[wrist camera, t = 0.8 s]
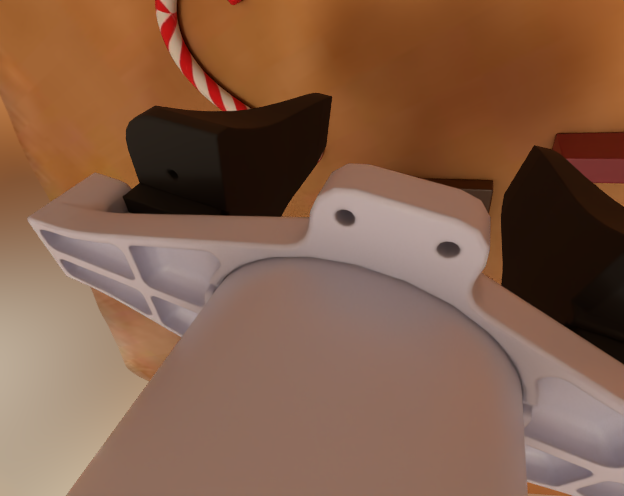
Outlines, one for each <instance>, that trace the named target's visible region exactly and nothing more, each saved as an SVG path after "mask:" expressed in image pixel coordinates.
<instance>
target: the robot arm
mask: <svg viewBox="0 0 624 496" xmlns="http://www.w3.org/2000/svg"><path fill="white" fill-rule="evenodd" d="M331 102H332V96H328V95H324V94H320V93H311V94H307V95H304V96H300V97H297V98H293V99H290V100H287V101H284V102H280V103H276V104H272V105H268V106H264V107H259V108H253V109H246V110H237V111H193V110H183V109H175V108H168V107H161V106H154V107H152V108H150V109H149V110H147V111H145V112H143V113H142V114H140V115H138V116H137V117H135V118H134V119H133V120H131V121H130V122H129V124H128V126H127V129H126V142H127V146H128V150H129V153H130V156H131V159H132V162H133V165H134V168H135V171H136V174H137V177H138V179H139V182H140V183H139V184H138V185H137V186H135V187H134V188H133V189H131V188H130V187H129V186H128V185H127V184H126V183H124V182H122V181H120V180H117V179H114V178H111V177H108V176H105V175H102V174H99V173H93V174H92V175H90V176H89V177H87V178H86V179H84V180H83V181H81V182H80V183H78V184H77V185H75V186H74V187H72V188H71V189H69V190H68V191H66V192H65V193H63V194H62V195H60V196H59V197H57V198H56V199H54V200H53V201H51V202H50V203H48V204H47V205H45V206H44V207H42V208H41V209H39V210H38V211H36V212H35V213H33V214H32V215H30V216H29V217H28V222H29V223H30V225H31V226H32V228H33V229H34V231H35V232H36V233H37V235H38V236H39V238H40V239H41V240H42V242H43V243H44V245H45V246H46V248H47V249H48V250H49V252H50V253H51V255H52V256H53V258H54V259H55V260H56V262H57V263H58V265H59V266H60V268H61V269H62V270H63V272H64V273H65V275H66V276H68V277H70V278H72V279H75V280H77V281H79V282H81V283H83V284H86V285H88V286H90V287H92V288H94V289H96V290H98V291H100V292H102V293H104V294H106V295H108V296H110V297H112V298H114V299H116V300H118V301H119V302H121V303H123V304H125V305H127V306H128V307H130V308H132V309H134V310H136V311H137V312H139V313H141V314H142V315H144V316H146V317H148V318H149V319H151V320H153V321H154V322H156V323H158V324H160V325H161V326H163V327H165V328H166V329H168V330H170V331H172V332H173V333H175V334H177V335H178V336H180V337H181V339H180V340H179V341H178V343H177V344H176V346H175V347H174V348H173V350H172V351H171V352H170V354H169V355H168V357H167V358H166V359H165V361H164V362H163V363H162V365H161V366H160V367H159V369H158V370H157V372H156V373H155V374H154V376H153V377H152V378H151V380H150V381H149V383H148V384H147V385H146V387H145V388H144V389H143V391H142V392H141V394H140V395H139V396H138V398H137V399H136V400H135V402H134V403H133V405H132V406H131V407H130V409H129V410H128V412H127V413H126V414H125V415H124V417H123V418H122V420H121V421H120V422H119V424H118V425H117V427H116V428H115V429H114V431H113V432H112V433H111V435H110V436H109V438H108V439H107V440H106V442H105V443H104V444H103V446H102V447H101V449H100V450H99V451H98V453H97V454H96V455H95V457H94V458H93V460H92V461H91V462H90V463H89V465H88V466H87V468H86V469H85V470H84V472H83V473H82V474H81V476H80V477H79V479H78V480H77V481H76V483H75V484H74V485H73V487H72V488H71V490H70V491H69V493H68V494H67V495H66V496H528V494H527V482H530V483H533V484H536V485H540V486H543V487H547V488H550V489H553V490H557V491H560V492H563V493H567V494H570V495H573V496H624V207H623V206H622V205H620V204H619V203H617V202H616V201H615V200H613V199H612V198H611V197H609V196H608V195H607V194H605V193H604V192H603V191H602V190H600V189H599V188H598V187H597V186H596V185H594V184H593V183H592V182H591V181H590V180H589V179H588V178H586V177H585V176H584V175H583V174H582V173H581V172H580V171H579V170H578V169H577V168H575V167H574V166H573V165H572V164H571V163H570V162H569V161H568V160H567V159H565V158H564V157H563V156H562V155H561V154H559V153H558V152H556V151H554V150H551V149H547V148H543V147H539V146H535V145H534V147H533V148H532V150H531V151H530V153H529V155H528V156H527V158H526V160H525V161H524V163H523V164H522V166H521V168H520V169H519V171H518V173H517V174H516V176H515V178H514V179H513V181H512V182H511V184H510V186H509V187H508V189H507V191H506V192H505V194H504V199H503V205H502V212H501V233H502V256H503V274H502V283H501V285H500V284H498V283H497V282H495V281H493V280H492V279H490V278H489V277H487V276H486V275H484V274H483V273H481V272H482V270H483V269H484V268H485V266H486V263H487V258H488V254H489V250H490V216H489V214H488V212H487V210H486V208H485V206H484V205H483V203H482V201H481V200H479V199H477V198H476V197H474V196H472V195H470V194H468V193H466V192H465V191H463V190H461V189H457V188H453V187H450V186H446V185H443V184H439V183H435V182H432V181H428V180H424V179H421V178H417V177H414V176H410V175H406V174H403V173H399V172H395V171H392V170H388V169H384V168H381V167H377V166H374V165H370V164H346V165H344V166H343V167H341V168H339V169H337V170H335V171H333V172H332V173H331V175H330V177H329V178H328V180H327V181H326V183H325V185H324V186H323V188H322V190H321V191H320V193H319V194H318V196H317V198H316V200H315V202H314V204H313V206H312V209H311V211H310V217H281V216H282V214H283V212H284V210H285V208H286V207H287V205H288V203H289V202H290V200H291V199H292V197H293V196H294V195H295V193H296V192H297V190H298V189H299V188H300V186H301V185H302V184H303V182H304V181H305V180H306V178H307V177H308V176H309V174H310V173H311V171H312V170H313V169H314V167H315V166H316V164H317V163H318V161H319V159H320V157H321V155H322V153H323V151H324V149H325V147H326V143H327V135H328V127H329V118H330V110H331Z"/></svg>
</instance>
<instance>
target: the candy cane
mask: <svg viewBox="0 0 624 496" xmlns="http://www.w3.org/2000/svg"><path fill="white" fill-rule="evenodd" d="M228 1H229V2H230V4H232V5H236V4H237V3H239V2H240V1H242V0H228ZM155 7H156V15H157V20H158V25H159V28H160V32H161V35H162V37H163V40H164V42H165V45H166V47H167V49H168V51H169V53H170V55H171V56H172V58H173V60H174V61H175V63H176V64H177V66H178V67H179V69H180V70H181V71H182V73H183V74H184V75H185V76H186V78H187V79H188V80H189V81H190V82H191V83H192V84H193V85H194V86H195V87H196V88H197V89H198V90H199V91H200V92H201V93H202V94H203V95H204V96H205V97H206V98H207V99H208V100H209V101H211V102H212V103H213V104H214V105H216V106H217V107H218V108H220V109H221V110H222V111H237V110H246V109H251V108H249V107H248V106H246V105H245V104H243V103H242V102H240V101H239V100H237V99H236V98H235V97H233V96H232V95H230V94H229V93H228V92H226V91H225V90H224V89H222V88H221V87H220V86H219V85H218V84H217V83H215V82H214V81H213V80H212V79H211V78H210V77H209V76H208V75H207V74H206V73H205V72H204V71H203V70H202V68H201V67H200V66H199V65H198V64H197V62H196V61H195V59H194V58H193V57H192V55H191V53H190V52H189V50H188V48H187V46H186V44H185V42H184V40H183V38H182V35H181V32H180V29H179V25H178V20H177V0H155ZM322 155H323V153H322ZM322 155H321V157H320V159H319V161H320V160H321V158H322ZM319 161H318V162H319Z"/></svg>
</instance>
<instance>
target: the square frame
mask: <svg viewBox="0 0 624 496" xmlns="http://www.w3.org/2000/svg"><path fill="white" fill-rule="evenodd" d="M552 150H554V151H556V152H558V153H559V154H561V155H562V156H563V157H564V158H565V159H567V160H568V161H569V162H570V163H571V164H572V165H573V166H574V167H575V168H577V169H578V170H579V171H580V172H581V173H582V174H583V175H584V176H585V177H586V178H588V179H589V180H590V181H591V182H592V183H624V133H569V134H557V135H556V138H555V142H554V145H553V148H552Z"/></svg>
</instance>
